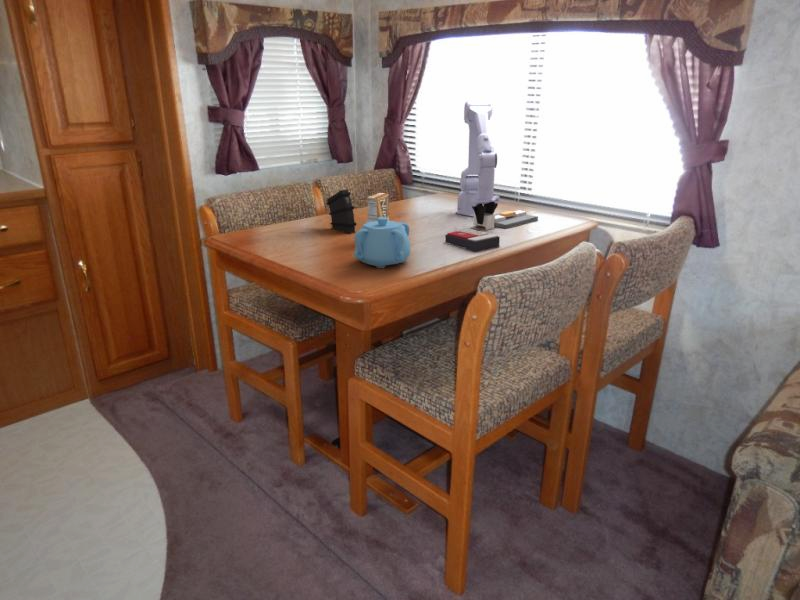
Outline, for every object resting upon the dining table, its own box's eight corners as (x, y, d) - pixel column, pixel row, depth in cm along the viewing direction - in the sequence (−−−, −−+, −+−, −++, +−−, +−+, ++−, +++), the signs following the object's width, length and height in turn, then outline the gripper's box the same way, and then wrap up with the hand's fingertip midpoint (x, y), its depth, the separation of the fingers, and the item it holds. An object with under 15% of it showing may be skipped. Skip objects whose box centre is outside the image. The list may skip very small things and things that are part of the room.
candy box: (378, 236, 199) (378, 192, 194) (389, 237, 198) (389, 193, 192) (367, 242, 192) (366, 196, 186) (378, 243, 190) (377, 197, 185)
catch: (499, 216, 218) (499, 213, 217) (509, 213, 221) (509, 210, 221) (505, 217, 216) (506, 214, 215) (515, 215, 219) (515, 211, 219)
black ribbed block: (352, 231, 199) (340, 190, 199) (334, 240, 210) (323, 201, 210) (361, 229, 201) (349, 188, 201) (343, 238, 212) (331, 200, 212)
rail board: (476, 222, 218) (476, 215, 217) (508, 214, 230) (509, 208, 229) (505, 228, 208) (506, 221, 207) (537, 220, 221) (538, 213, 220)
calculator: (469, 227, 196) (500, 234, 185) (469, 240, 198) (500, 247, 186) (444, 232, 190) (475, 239, 179) (444, 245, 192) (475, 252, 180)
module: (473, 226, 212) (474, 213, 210) (480, 224, 214) (481, 211, 212) (487, 229, 207) (487, 216, 205) (494, 227, 210) (494, 214, 208)
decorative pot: (366, 253, 179) (364, 210, 175) (415, 256, 176) (415, 213, 171) (348, 268, 165) (346, 222, 160) (402, 272, 161) (401, 225, 156)
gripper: (481, 189, 198) (479, 228, 203) (507, 185, 207) (504, 221, 212) (466, 187, 203) (464, 224, 208) (492, 182, 212) (490, 218, 217)
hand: (483, 223), depth 210 cm, fingers closed on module, 4 cm apart
